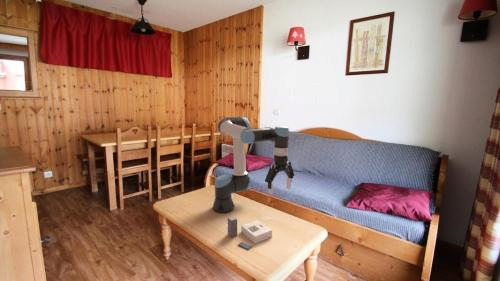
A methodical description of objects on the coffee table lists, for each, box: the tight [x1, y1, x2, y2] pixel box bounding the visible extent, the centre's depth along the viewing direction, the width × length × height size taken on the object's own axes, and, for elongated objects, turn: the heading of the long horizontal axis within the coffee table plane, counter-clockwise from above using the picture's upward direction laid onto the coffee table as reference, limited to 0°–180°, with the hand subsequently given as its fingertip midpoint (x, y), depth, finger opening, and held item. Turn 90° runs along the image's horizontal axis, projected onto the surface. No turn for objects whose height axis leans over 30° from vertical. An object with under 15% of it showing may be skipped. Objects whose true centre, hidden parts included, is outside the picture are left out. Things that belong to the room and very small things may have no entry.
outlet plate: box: [240, 219, 273, 244], centre depth 142 cm, size 14×12×4 cm
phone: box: [237, 241, 253, 251], centre depth 131 cm, size 7×4×1 cm, turn 54°
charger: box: [227, 216, 238, 239], centre depth 140 cm, size 4×4×10 cm
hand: (279, 191), depth 138 cm, fingers open, 13 cm apart
